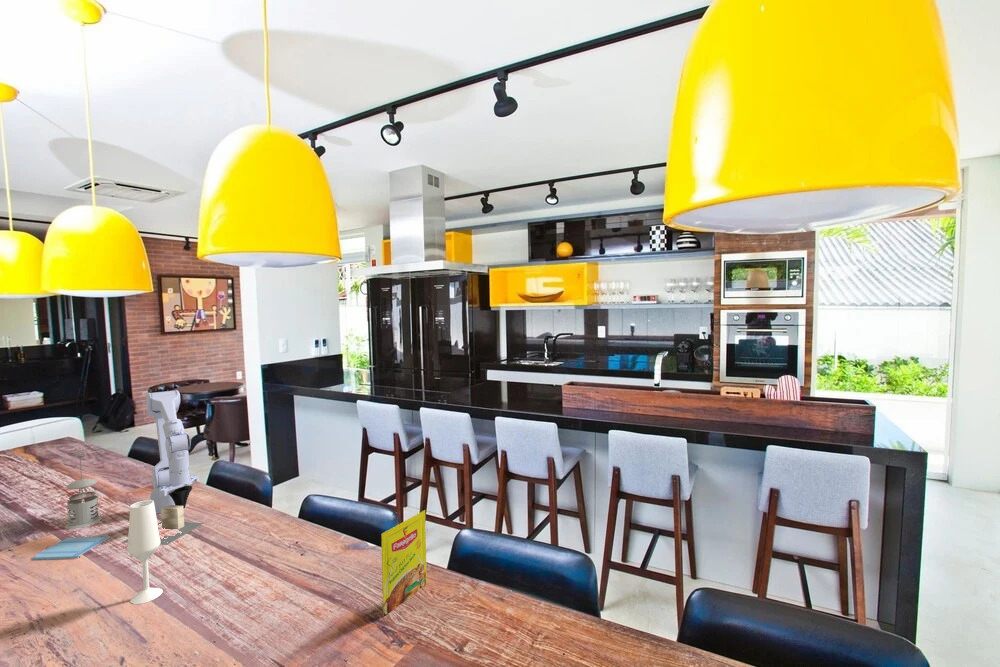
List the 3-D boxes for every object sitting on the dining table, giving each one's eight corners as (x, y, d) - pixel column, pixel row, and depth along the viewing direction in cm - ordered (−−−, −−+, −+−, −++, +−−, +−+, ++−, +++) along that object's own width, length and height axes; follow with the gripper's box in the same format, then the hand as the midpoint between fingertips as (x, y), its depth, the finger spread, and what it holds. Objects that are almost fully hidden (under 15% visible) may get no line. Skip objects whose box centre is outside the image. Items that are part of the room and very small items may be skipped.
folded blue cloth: (30, 561, 137) (30, 557, 137) (67, 541, 149) (67, 537, 149) (77, 560, 138) (77, 555, 138) (110, 540, 150) (110, 536, 150)
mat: (121, 543, 146) (121, 542, 146) (162, 522, 161) (162, 520, 161) (166, 546, 144) (166, 544, 144) (203, 524, 159) (203, 523, 159)
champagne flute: (123, 600, 117) (118, 507, 116) (151, 585, 123) (147, 497, 122) (141, 606, 114) (136, 510, 113) (169, 590, 121) (164, 500, 120)
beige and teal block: (162, 528, 155) (161, 508, 155) (168, 525, 158) (168, 504, 158) (178, 529, 155) (177, 508, 154) (184, 525, 157) (183, 505, 157)
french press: (64, 532, 155) (59, 458, 154) (65, 520, 164) (61, 450, 163) (102, 523, 162) (98, 452, 160) (102, 512, 170) (98, 445, 169)
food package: (385, 617, 109) (383, 534, 108) (381, 616, 109) (379, 533, 109) (428, 584, 122) (426, 510, 121) (425, 583, 122) (423, 509, 122)
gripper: (172, 477, 151) (173, 518, 152) (205, 463, 165) (207, 500, 166) (152, 476, 152) (154, 517, 153) (188, 462, 166) (189, 500, 167)
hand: (180, 508), depth 159 cm, fingers closed
